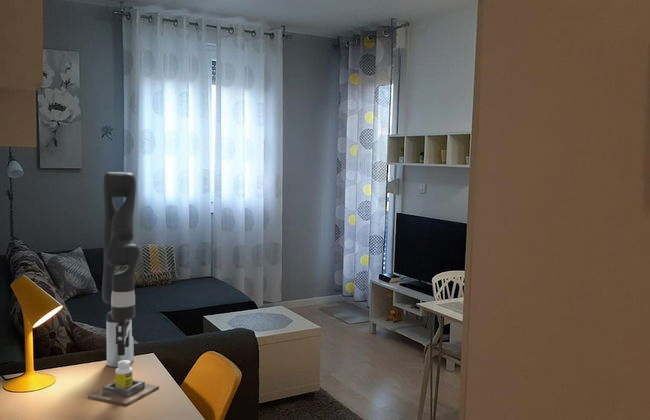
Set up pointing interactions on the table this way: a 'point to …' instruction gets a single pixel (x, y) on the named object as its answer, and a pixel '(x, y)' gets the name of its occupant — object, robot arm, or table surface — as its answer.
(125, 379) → the supplement bottle
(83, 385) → the table surface
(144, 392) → the bottle caddy
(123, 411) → the table surface
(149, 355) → the table surface
